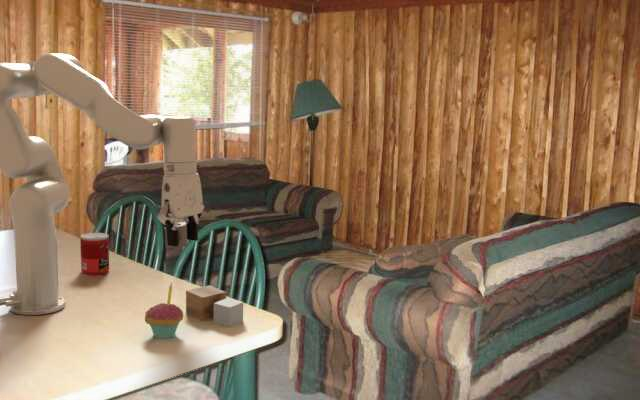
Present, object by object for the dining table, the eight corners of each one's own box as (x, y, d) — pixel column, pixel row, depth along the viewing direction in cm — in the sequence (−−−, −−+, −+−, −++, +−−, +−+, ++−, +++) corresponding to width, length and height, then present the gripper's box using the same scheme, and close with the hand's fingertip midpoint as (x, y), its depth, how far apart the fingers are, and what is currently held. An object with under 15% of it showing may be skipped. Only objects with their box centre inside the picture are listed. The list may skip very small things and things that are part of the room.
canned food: (104, 276, 201) (103, 239, 199) (77, 274, 201) (76, 237, 199) (113, 268, 208) (112, 233, 206) (86, 267, 208) (85, 232, 206)
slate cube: (229, 327, 164) (230, 307, 163) (213, 323, 167) (213, 303, 166) (242, 321, 168) (243, 302, 167) (226, 317, 171) (227, 297, 170)
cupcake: (167, 325, 164) (167, 276, 162) (191, 334, 158) (191, 284, 156) (137, 335, 157) (136, 284, 155) (160, 345, 152) (160, 292, 150)
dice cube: (187, 246, 166) (186, 226, 165) (165, 247, 165) (165, 227, 164) (186, 241, 171) (185, 222, 170) (165, 242, 170) (164, 222, 169)
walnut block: (202, 321, 168) (202, 297, 166) (186, 313, 172) (186, 290, 171) (225, 315, 172) (226, 292, 171) (209, 307, 177) (209, 285, 176)
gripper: (167, 174, 155) (170, 252, 158) (215, 165, 170) (217, 237, 173) (142, 171, 159) (145, 248, 162) (191, 163, 173) (193, 234, 177)
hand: (182, 242), depth 167 cm, fingers closed on dice cube, 6 cm apart
